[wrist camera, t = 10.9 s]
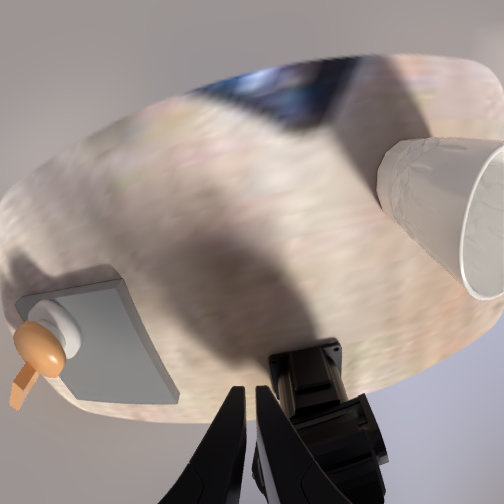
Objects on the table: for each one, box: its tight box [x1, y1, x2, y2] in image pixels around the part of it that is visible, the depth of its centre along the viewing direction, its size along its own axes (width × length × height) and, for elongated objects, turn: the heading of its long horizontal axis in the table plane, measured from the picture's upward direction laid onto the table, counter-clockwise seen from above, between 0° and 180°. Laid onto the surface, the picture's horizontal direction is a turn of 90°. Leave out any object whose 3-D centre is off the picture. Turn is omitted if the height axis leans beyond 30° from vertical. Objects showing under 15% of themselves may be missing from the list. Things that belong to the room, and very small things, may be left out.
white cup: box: [376, 137, 504, 300], centre depth 13 cm, size 8×8×10 cm
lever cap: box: [9, 321, 67, 411], centre depth 17 cm, size 12×5×5 cm, turn 136°
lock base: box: [15, 279, 180, 404], centre depth 21 cm, size 14×14×4 cm
